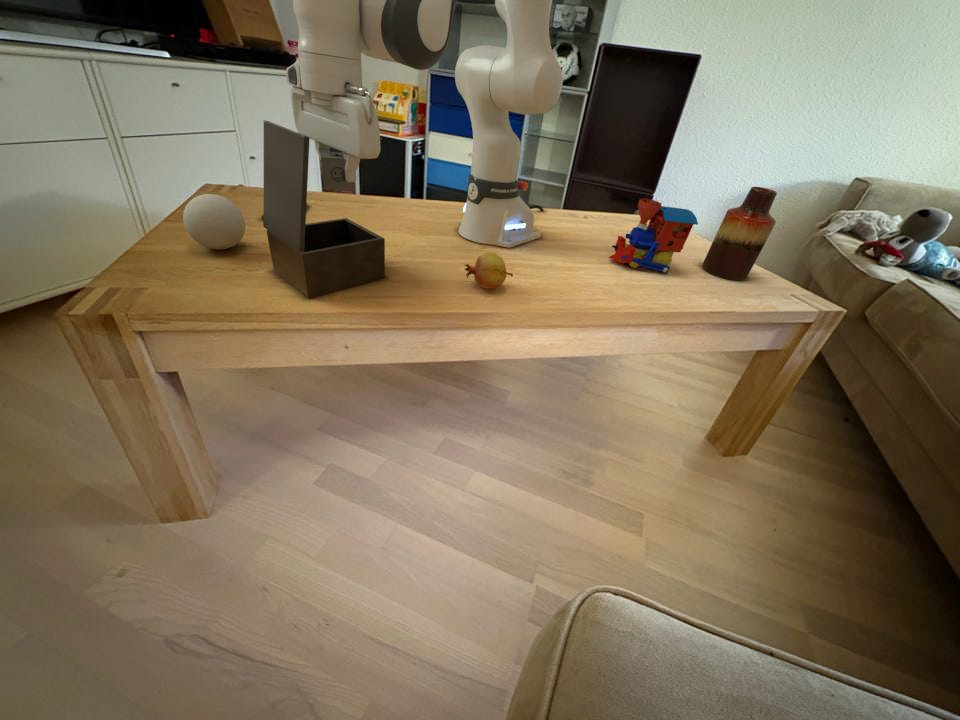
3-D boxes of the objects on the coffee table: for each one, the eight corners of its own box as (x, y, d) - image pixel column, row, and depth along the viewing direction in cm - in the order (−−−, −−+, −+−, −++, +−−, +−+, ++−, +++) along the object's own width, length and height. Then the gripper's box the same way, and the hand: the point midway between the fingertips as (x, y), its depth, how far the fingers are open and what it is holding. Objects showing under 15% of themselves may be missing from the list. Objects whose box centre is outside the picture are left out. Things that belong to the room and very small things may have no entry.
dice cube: (323, 189, 69) (320, 157, 66) (323, 182, 73) (321, 150, 70) (354, 191, 70) (353, 159, 67) (353, 183, 74) (351, 153, 71)
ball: (196, 260, 76) (179, 204, 70) (187, 241, 82) (172, 188, 76) (255, 253, 81) (245, 201, 75) (243, 236, 87) (233, 186, 81)
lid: (268, 121, 64) (263, 120, 63) (309, 137, 58) (304, 136, 57) (268, 227, 72) (263, 227, 71) (304, 251, 65) (299, 251, 65)
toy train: (676, 276, 100) (703, 213, 91) (613, 270, 98) (635, 205, 89) (659, 259, 108) (682, 200, 100) (601, 253, 106) (619, 193, 98)
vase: (692, 264, 109) (729, 182, 97) (722, 262, 112) (760, 184, 101) (725, 281, 101) (769, 195, 89) (755, 280, 105) (801, 196, 93)
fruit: (512, 252, 83) (463, 248, 81) (521, 257, 77) (468, 253, 75) (507, 286, 85) (460, 283, 83) (516, 293, 79) (465, 290, 77)
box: (348, 255, 86) (346, 217, 81) (385, 278, 80) (384, 238, 75) (273, 271, 76) (266, 229, 72) (308, 298, 70) (302, 254, 65)
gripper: (390, 90, 59) (390, 190, 67) (317, 73, 70) (324, 161, 78) (351, 86, 55) (356, 194, 63) (280, 69, 66) (292, 163, 74)
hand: (338, 176), depth 71 cm, fingers closed on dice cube, 5 cm apart
